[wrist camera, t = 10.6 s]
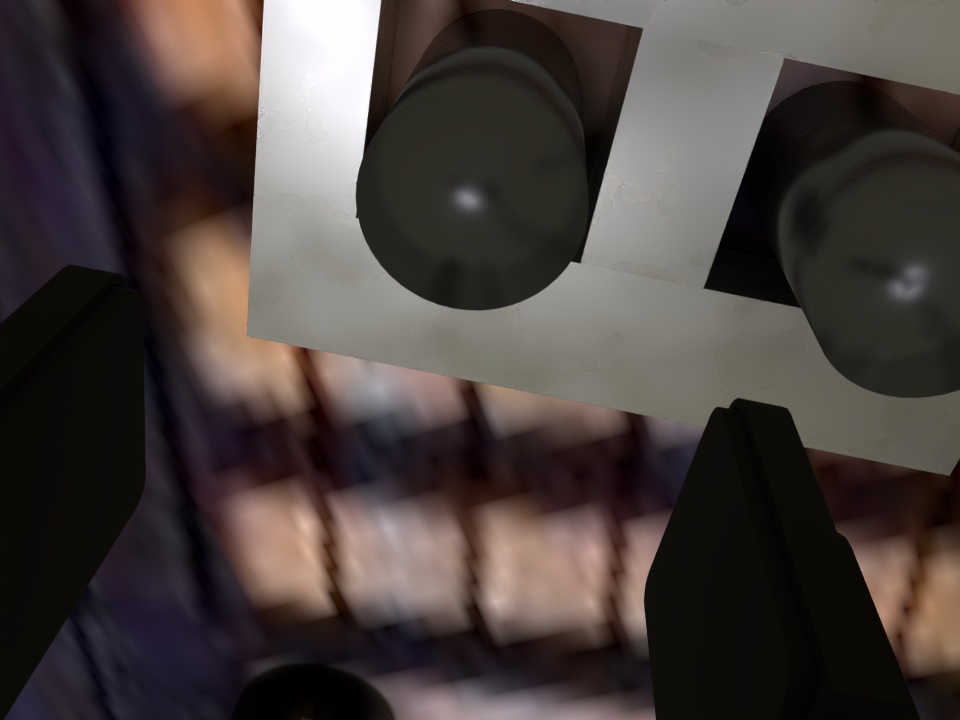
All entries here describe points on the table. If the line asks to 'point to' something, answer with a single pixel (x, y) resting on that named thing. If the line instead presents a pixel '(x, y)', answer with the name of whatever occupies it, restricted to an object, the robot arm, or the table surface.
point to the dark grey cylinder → (480, 166)
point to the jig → (661, 223)
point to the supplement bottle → (308, 698)
